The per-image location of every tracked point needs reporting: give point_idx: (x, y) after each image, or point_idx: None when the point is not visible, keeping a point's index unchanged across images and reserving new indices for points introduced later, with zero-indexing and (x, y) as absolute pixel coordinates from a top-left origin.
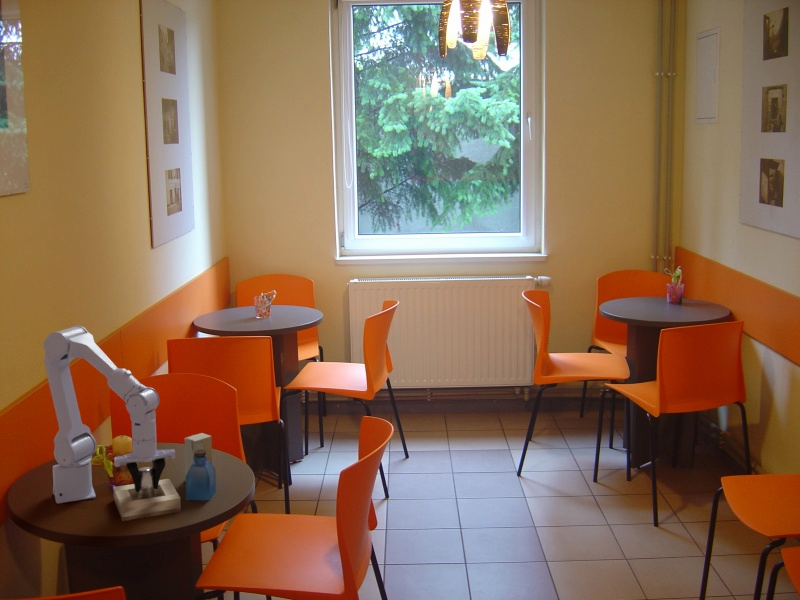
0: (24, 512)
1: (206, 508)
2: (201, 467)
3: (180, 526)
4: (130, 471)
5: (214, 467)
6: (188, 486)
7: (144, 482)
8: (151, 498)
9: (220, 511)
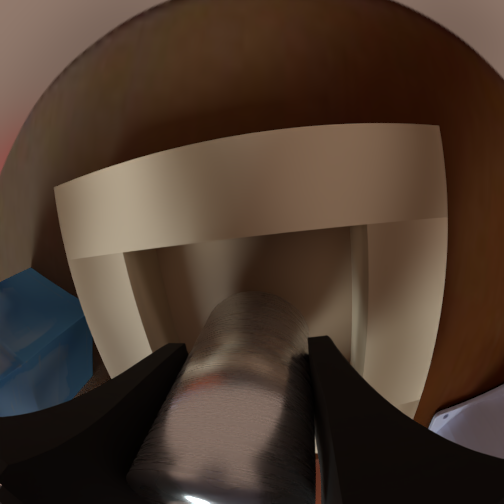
0: None
1: (32, 194)
2: None
3: (126, 28)
4: (501, 467)
5: None
6: (47, 331)
7: (253, 378)
8: (217, 229)
9: (9, 159)
